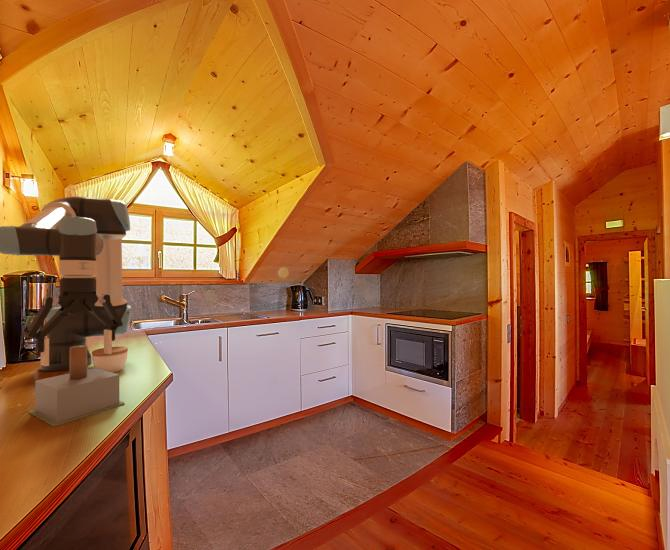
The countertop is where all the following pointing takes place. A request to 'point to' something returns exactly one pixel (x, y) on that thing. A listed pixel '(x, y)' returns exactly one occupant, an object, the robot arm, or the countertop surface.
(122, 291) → the robot arm
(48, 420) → the mat
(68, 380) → the cover
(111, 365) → the lidded jar
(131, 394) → the countertop surface
